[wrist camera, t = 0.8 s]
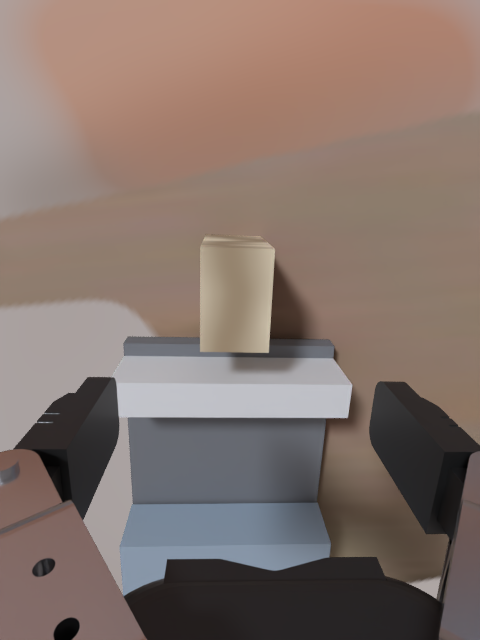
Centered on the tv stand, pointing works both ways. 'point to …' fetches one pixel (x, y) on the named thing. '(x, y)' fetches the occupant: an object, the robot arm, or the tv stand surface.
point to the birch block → (235, 293)
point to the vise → (228, 419)
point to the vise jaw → (220, 537)
